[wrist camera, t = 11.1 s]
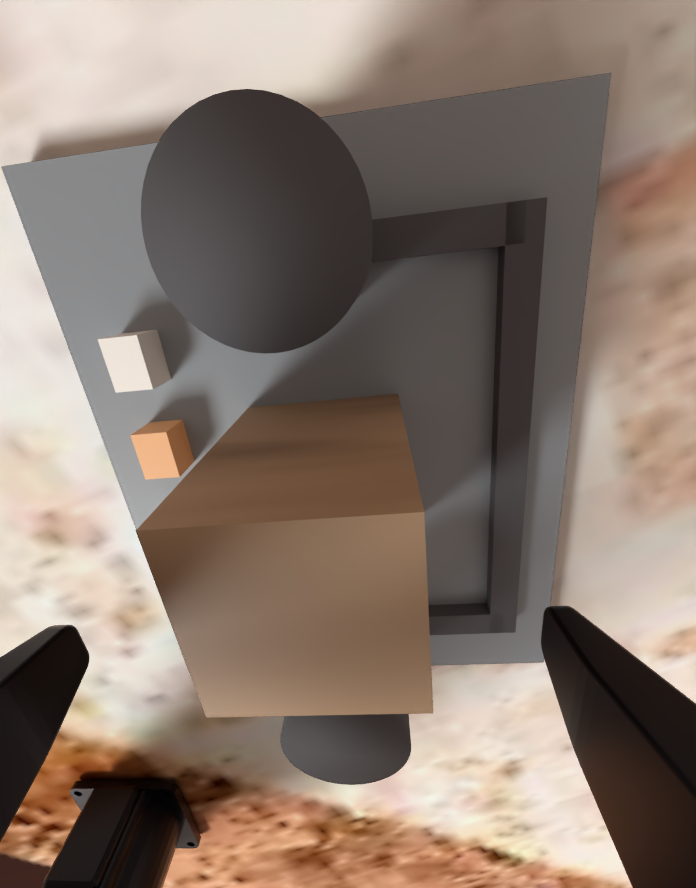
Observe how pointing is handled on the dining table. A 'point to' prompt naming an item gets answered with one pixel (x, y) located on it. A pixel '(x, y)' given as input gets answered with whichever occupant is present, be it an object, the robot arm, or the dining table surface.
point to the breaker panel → (354, 325)
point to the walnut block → (300, 564)
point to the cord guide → (336, 319)
